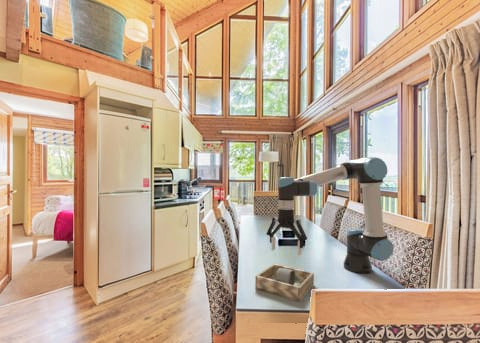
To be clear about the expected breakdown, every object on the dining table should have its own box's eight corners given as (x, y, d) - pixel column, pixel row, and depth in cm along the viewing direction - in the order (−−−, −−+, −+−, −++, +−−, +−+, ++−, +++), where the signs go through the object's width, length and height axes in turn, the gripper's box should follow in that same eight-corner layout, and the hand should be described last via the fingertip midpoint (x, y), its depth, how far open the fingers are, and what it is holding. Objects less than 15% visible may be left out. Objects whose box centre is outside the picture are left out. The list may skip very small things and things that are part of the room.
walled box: (313, 285, 124) (313, 272, 125) (299, 302, 108) (300, 288, 108) (273, 274, 136) (273, 263, 136) (255, 288, 120) (255, 276, 120)
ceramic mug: (281, 279, 128) (281, 264, 128) (295, 284, 123) (296, 268, 123) (270, 287, 119) (270, 271, 119) (286, 292, 114) (286, 275, 114)
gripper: (259, 207, 126) (259, 249, 126) (308, 211, 112) (308, 259, 112) (266, 205, 132) (266, 246, 132) (313, 209, 119) (313, 254, 119)
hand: (286, 252), depth 122 cm, fingers open, 13 cm apart
